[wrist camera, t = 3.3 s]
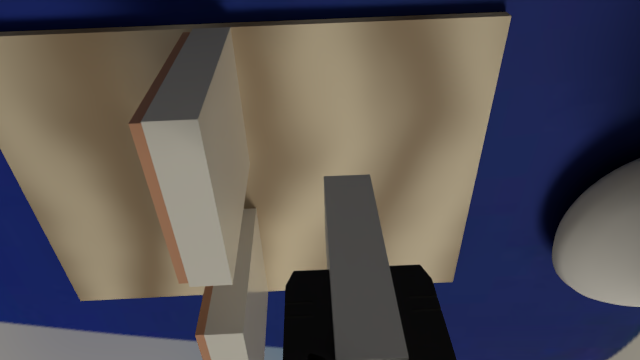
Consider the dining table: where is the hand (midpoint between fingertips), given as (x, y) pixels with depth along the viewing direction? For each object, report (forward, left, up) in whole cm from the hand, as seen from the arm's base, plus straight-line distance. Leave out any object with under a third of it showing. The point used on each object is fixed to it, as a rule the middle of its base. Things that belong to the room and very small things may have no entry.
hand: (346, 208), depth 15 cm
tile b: (-5, -10, -8) cm, 14 cm away
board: (-4, -5, -8) cm, 11 cm away
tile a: (-5, 0, -8) cm, 9 cm away
